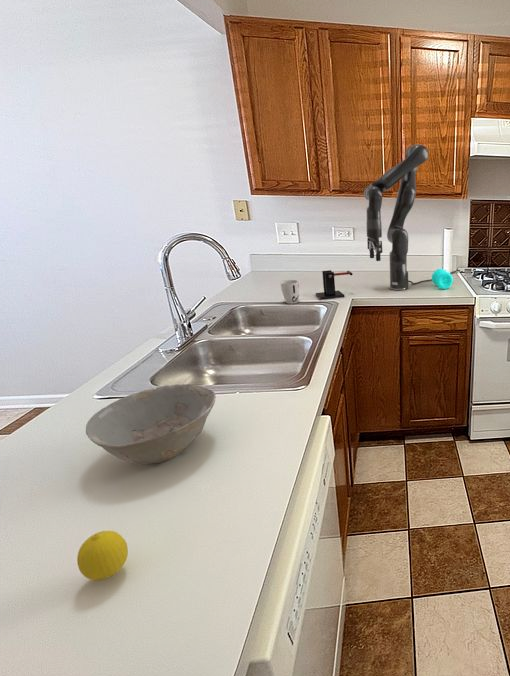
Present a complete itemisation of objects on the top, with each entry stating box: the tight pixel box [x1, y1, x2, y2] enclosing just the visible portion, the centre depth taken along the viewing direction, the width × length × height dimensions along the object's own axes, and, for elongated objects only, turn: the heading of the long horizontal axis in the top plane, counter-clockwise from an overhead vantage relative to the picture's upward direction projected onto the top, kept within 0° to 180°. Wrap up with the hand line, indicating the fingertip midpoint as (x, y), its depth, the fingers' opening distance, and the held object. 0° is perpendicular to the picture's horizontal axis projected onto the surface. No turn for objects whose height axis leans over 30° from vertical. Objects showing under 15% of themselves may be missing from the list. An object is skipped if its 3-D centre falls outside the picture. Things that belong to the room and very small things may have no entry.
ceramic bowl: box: [85, 383, 216, 465], centre depth 86 cm, size 22×23×10 cm
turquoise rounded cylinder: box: [431, 268, 454, 290], centre depth 223 cm, size 10×10×10 cm
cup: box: [280, 279, 300, 305], centre depth 189 cm, size 8×8×10 cm
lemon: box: [76, 530, 129, 581], centre depth 59 cm, size 6×6×8 cm
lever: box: [334, 270, 353, 277], centre depth 200 cm, size 13×5×2 cm, turn 122°
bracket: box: [315, 269, 345, 301], centre depth 199 cm, size 12×9×13 cm
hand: (375, 259), depth 207 cm, fingers open, 8 cm apart
